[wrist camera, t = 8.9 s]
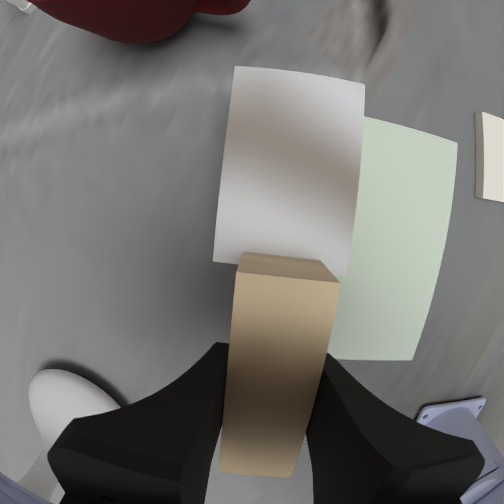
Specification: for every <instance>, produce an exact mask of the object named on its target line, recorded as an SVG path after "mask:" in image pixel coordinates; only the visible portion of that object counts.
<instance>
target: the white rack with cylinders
mask: <svg viewBox="0 0 504 504" xmlns="http://www.w3.org/2000/svg"><path fill="white" fill-rule="evenodd" d="M6 1H8V2H10V3H12V4H14V5H16V6H17V7H18V8H19V9H20V10H21V11H23V12H25V13H27V14H29V13H32V12H33V11H34V10H35V9H36V8H37V7H36V6H35V5H33V4H32V3H30V2H28V1H27V0H6Z"/></svg>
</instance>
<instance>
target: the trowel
mask: <svg viewBox="0 0 504 504" xmlns="http://www.w3.org/2000/svg"><path fill="white" fill-rule="evenodd" d="M364 100H365V84H361V83H356V82H352V81H347V80H342V79H337V78H332V77H326V76H321V75H315V74H308V73H302V72H294V71H287V70H278V69H269V68H258V67H244V66H235V71H234V78H233V85H232V92H231V100H230V107H229V115H228V122H227V130H226V138H225V147H224V155H223V164H222V172H221V181H220V191H219V200H218V210H217V220H216V231H215V242H214V253H213V262H222V263H230V264H239V266H238V269H237V271H236V280H235V290H234V300H233V311H232V321H231V332H230V343H229V353H228V365H227V376H226V387H225V399H224V410H223V422H222V435H221V447H220V460H219V472H226V473H234V474H244V475H255V476H271V477H292V474H293V471H294V468H295V465H296V462H297V459H298V456H299V453H300V449H301V446H302V443H303V440H304V436H305V433H306V430H307V426H308V423H309V420H310V416H311V412H312V409H313V405H314V402H315V398H316V394H317V390H318V386H319V383H320V379H321V375H322V371H323V366H324V362H325V358H326V354H327V349H328V345H329V340H330V336H331V331H332V326H333V322H334V317H335V312H336V307H337V301H338V296H339V291H340V285H341V283H340V282H339V280H338V279H337V278H336V277H335V276H334V275H339V276H346V273H347V268H348V261H349V255H350V249H351V242H352V235H353V228H354V220H355V213H356V204H357V196H358V186H359V176H360V165H361V153H362V140H363V123H364Z"/></svg>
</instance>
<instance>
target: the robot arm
mask: <svg viewBox="0 0 504 504" xmlns="http://www.w3.org/2000/svg"><path fill="white" fill-rule="evenodd" d="M228 353H229V344H228V343H220V342H216V343H215V344H213V346H212V347H211V348H210V349H209V350H208V351H207V352H206V353H205V355H204V356H203V357H202V358H201V359H200V360H199V361H197V362H196V363H195V364H194V365H193V366H192V367H191V368H190V369H189V370H188V371H186V372H185V373H184V374H182V375H181V376H180V377H179V378H177V379H176V380H175V381H173V382H172V383H171V384H169V385H168V386H166V387H164V388H163V389H161V390H160V391H158V392H156V393H154V394H152V395H150V396H148V397H146V398H144V399H142V400H140V401H137V402H135V403H133V404H130V405H127V406H125V407H122V408H119V409H115V410H112V411H109V412H105V413H101V414H96V415H91V416H85V417H80V418H74V419H73V420H72V421H71V422H70V423H69V424H68V425H67V426H66V427H65V429H64V430H63V431H62V433H61V434H60V436H59V437H58V438H57V440H56V441H55V443H54V444H53V446H52V447H51V448H50V450H49V451H48V453H47V460H48V463H49V465H50V467H51V470H52V471H53V473H54V475H55V477H56V478H57V480H58V481H59V483H60V485H61V486H62V488H63V490H64V491H65V495H64V496H63V498H62V500H61V502H60V504H204V502H205V496H206V490H207V484H208V478H209V472H210V466H211V462H212V458H213V454H214V450H215V447H216V444H217V440H218V437H219V433H220V430H221V426H222V422H223V410H224V399H225V387H226V376H227V365H228ZM485 402H486V399H485V398H484V397H481V398H476V399H471V400H465V401H459V402H452V403H445V404H438V405H430V406H426V407H424V408H423V409H422V411H421V413H420V415H419V416H418V418H417V420H416V421H414V420H412V419H410V418H408V417H407V416H405V415H403V414H401V413H399V412H398V411H396V410H394V409H393V408H391V407H390V406H388V405H387V404H385V403H384V402H382V401H381V400H380V399H378V398H377V397H376V396H374V395H373V394H372V393H371V392H370V391H368V390H367V389H366V388H365V387H364V386H362V385H361V384H360V383H359V382H358V381H357V380H356V379H355V378H354V377H353V376H352V375H351V374H350V373H348V372H347V371H346V370H345V369H344V368H343V367H342V366H341V365H340V363H339V362H338V361H337V360H336V359H335V358H334V357H333V356H331V355H330V354H329V353H327V354H326V358H325V362H324V366H323V371H322V375H321V379H320V383H319V386H318V390H317V394H316V398H315V402H314V405H313V409H312V412H311V416H310V420H309V423H308V426H307V430H306V437H307V442H308V447H309V453H310V458H311V464H312V472H313V493H314V504H504V457H503V456H502V454H501V453H500V451H499V450H498V448H497V447H496V445H495V444H494V443H493V441H492V440H491V438H490V437H489V435H488V434H487V433H486V431H485V430H484V428H483V427H482V426H481V424H480V423H479V422H478V420H477V419H476V418H477V416H478V414H479V413H480V411H481V409H482V407H483V406H484V404H485ZM0 504H53V503H51V502H49V501H47V500H45V499H43V498H41V497H40V496H38V495H36V494H34V493H33V492H31V491H29V490H27V489H26V488H24V487H22V486H21V485H19V484H17V483H16V482H14V481H13V480H11V479H10V478H8V477H7V476H5V475H4V474H2V473H1V472H0Z"/></svg>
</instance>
